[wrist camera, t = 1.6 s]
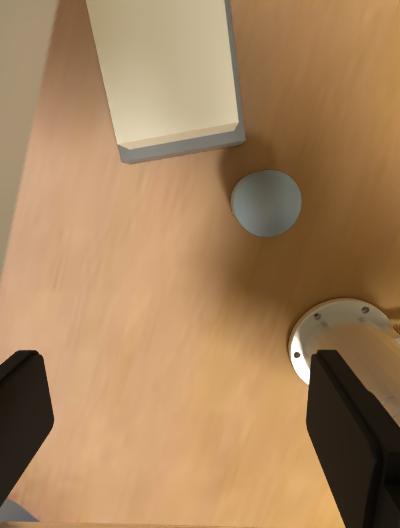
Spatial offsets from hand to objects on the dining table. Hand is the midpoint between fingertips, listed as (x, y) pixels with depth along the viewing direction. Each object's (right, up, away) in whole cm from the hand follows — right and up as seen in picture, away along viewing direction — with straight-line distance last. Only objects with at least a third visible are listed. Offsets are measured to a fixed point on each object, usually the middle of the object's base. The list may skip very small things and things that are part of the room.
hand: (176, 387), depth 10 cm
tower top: (-2, +21, +16) cm, 26 cm away
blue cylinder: (+7, +11, +22) cm, 26 cm away
